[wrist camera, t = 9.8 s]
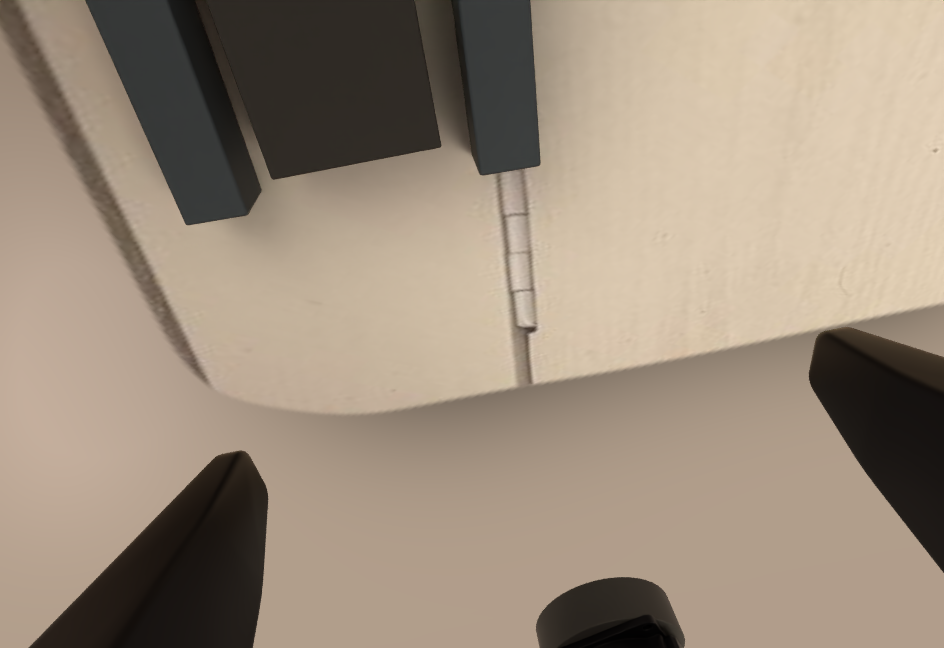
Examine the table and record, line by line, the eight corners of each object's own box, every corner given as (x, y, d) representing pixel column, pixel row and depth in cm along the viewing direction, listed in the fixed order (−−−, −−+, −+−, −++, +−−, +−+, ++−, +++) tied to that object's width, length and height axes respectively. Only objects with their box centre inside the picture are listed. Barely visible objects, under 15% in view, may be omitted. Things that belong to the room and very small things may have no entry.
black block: (287, 153, 17) (271, 180, 15) (226, -23, 14) (197, -21, 12) (436, 124, 17) (441, 147, 15) (402, -56, 14) (403, -60, 12)
